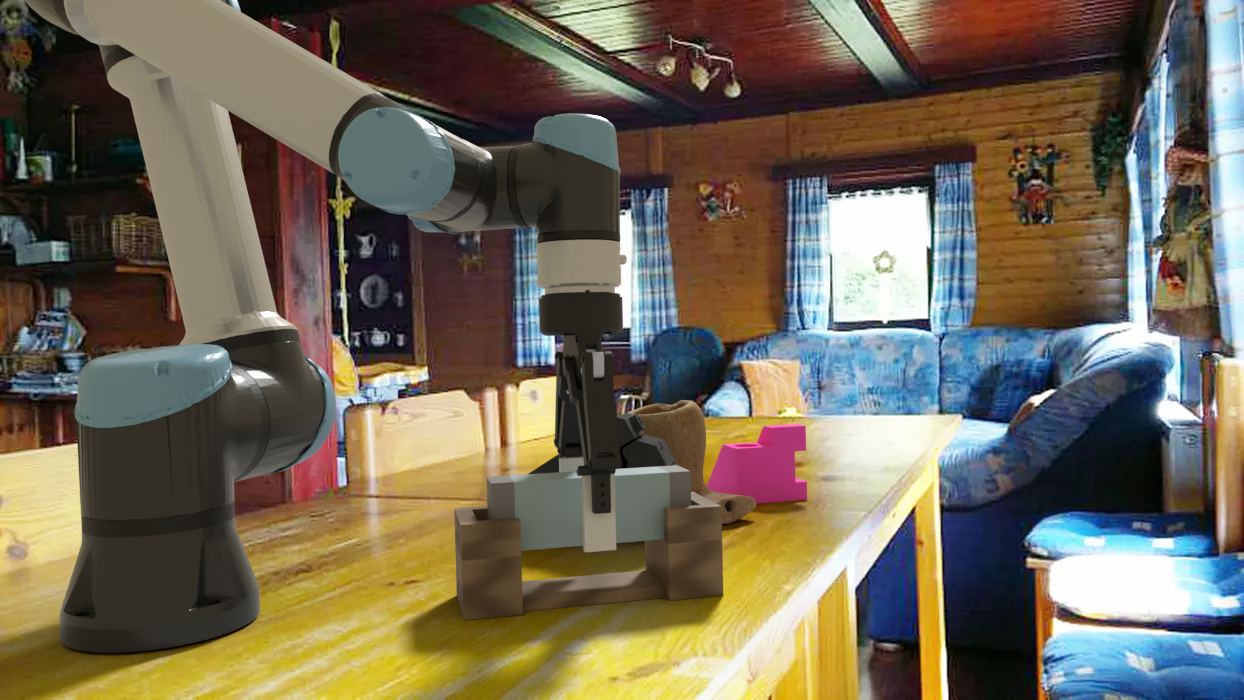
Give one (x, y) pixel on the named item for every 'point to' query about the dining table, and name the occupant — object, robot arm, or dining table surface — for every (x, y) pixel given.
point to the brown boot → (690, 450)
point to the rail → (557, 504)
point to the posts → (672, 571)
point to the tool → (628, 448)
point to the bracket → (762, 466)
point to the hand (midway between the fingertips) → (586, 537)
